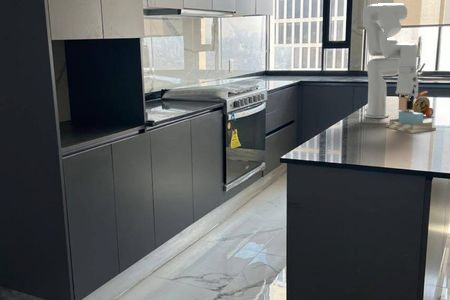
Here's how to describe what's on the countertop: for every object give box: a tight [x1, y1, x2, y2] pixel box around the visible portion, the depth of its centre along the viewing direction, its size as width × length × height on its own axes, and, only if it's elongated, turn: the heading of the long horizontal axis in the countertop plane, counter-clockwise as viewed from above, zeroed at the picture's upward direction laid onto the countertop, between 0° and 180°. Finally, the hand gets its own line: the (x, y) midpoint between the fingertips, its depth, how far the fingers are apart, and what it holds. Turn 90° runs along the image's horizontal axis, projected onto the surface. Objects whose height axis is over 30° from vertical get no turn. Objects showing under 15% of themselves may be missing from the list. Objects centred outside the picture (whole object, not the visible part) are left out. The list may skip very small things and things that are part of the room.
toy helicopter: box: [400, 90, 434, 118], centre depth 265 cm, size 8×21×14 cm, turn 120°
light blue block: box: [397, 110, 424, 125], centre depth 237 cm, size 12×4×6 cm, turn 22°
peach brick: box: [397, 96, 415, 111], centre depth 238 cm, size 4×5×6 cm
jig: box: [385, 117, 437, 134], centre depth 237 cm, size 18×14×4 cm
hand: (405, 108), depth 239 cm, fingers closed on peach brick, 4 cm apart
